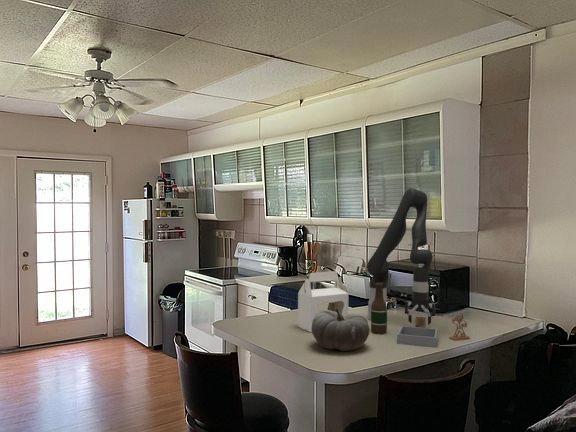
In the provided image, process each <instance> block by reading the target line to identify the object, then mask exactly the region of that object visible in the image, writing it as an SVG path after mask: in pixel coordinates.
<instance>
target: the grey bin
mask: <svg viewBox="0 0 576 432" xmlns="http://www.w3.org/2000/svg"><path fill="white" fill-rule="evenodd" d="M438 331H439V329H438V328H429V327H428V328H427V327H426V328H419V327H415V326H406V325H401V326H400V328H399V330H398V333H397V334H396V335H397V336H396V339H397V340H396V344H399V345H400V344H401V345H409V346H420V347H431V348H437V342H438V338H439V337H438Z"/></svg>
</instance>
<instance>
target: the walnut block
mask: <svg viewBox="0 0 576 432" xmlns="http://www.w3.org/2000/svg"><path fill="white" fill-rule="evenodd" d="M426 320H427V319H426V316H415V321H414V323H415V324H414V325H415V326H414V327H419V328H427V327H426V322H427V321H426Z"/></svg>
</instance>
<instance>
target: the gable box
mask: <svg viewBox="0 0 576 432" xmlns="http://www.w3.org/2000/svg"><path fill="white" fill-rule="evenodd" d="M307 277H308V278H306V279H304V283H303V284H302V286H301V288H300V289H299V291H298V293H297V327H298V328H300V329H302V330H304V331H307V332H309V333H311V334H313V333H312V322H313V319H314V317H315V316H316V315H317V314H318V311H317V305H319V304H321V303H328V306H327V310H331V311H335V309H336V308H337V309H338V311H339V312H340V313H341V314H342V315H343V316H346V315H348V314H349V292H348V290H347V288H346V287H345V285H344V282H343V281H342V277H341V276H338V271H336V270H332V271H317V272H310V273H309V274H307ZM327 281H334V287H328V288H327V287H325V288H315V289H313V288H312V283H314V282H316V283H317V282H327ZM335 312H336V311H335Z"/></svg>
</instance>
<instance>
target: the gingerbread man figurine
mask: <svg viewBox="0 0 576 432" xmlns="http://www.w3.org/2000/svg"><path fill="white" fill-rule="evenodd" d="M451 321H452V323H453V325H456V329H455V331H454V333H453V335H451V336H449V337H448V339H449V340H452V341H464V340H470V339H471V338H470V336H468V335H467V334H466V333H465V331H464V328H467V327H468V323H467V321H466V320H464V315H463V313H461V312H458V313H456V316H454V317H452V319H451ZM455 321H456V322H457V323H455ZM462 322H464V323H462ZM460 329H461V330H462V332H461V330H460ZM459 334H460V335H459Z"/></svg>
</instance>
